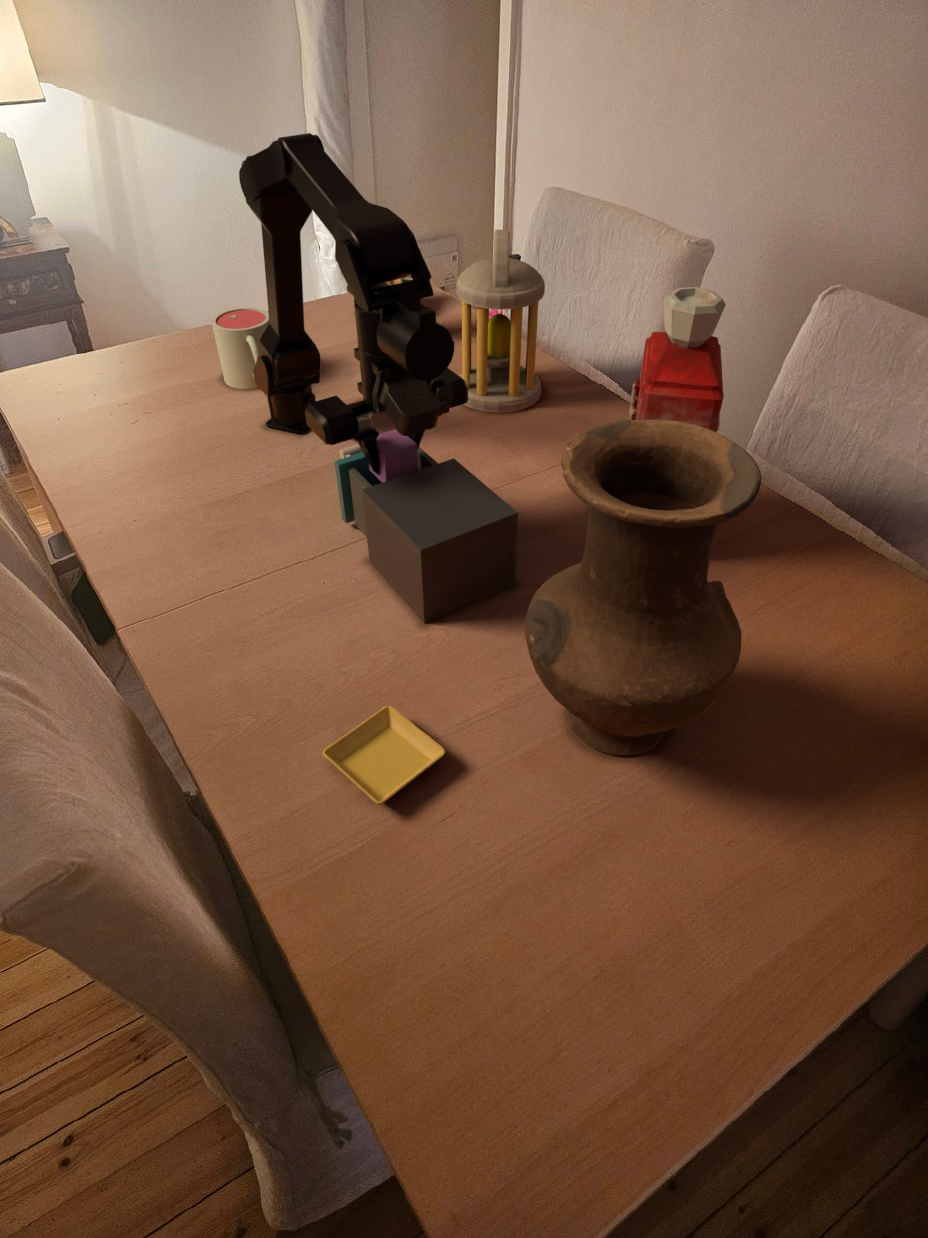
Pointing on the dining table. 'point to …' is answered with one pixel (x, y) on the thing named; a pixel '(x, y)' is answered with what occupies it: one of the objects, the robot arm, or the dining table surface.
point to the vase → (642, 583)
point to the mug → (239, 343)
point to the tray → (361, 482)
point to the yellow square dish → (384, 754)
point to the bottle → (683, 363)
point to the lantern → (500, 330)
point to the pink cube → (395, 456)
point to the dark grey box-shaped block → (440, 538)
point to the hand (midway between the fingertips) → (393, 466)
